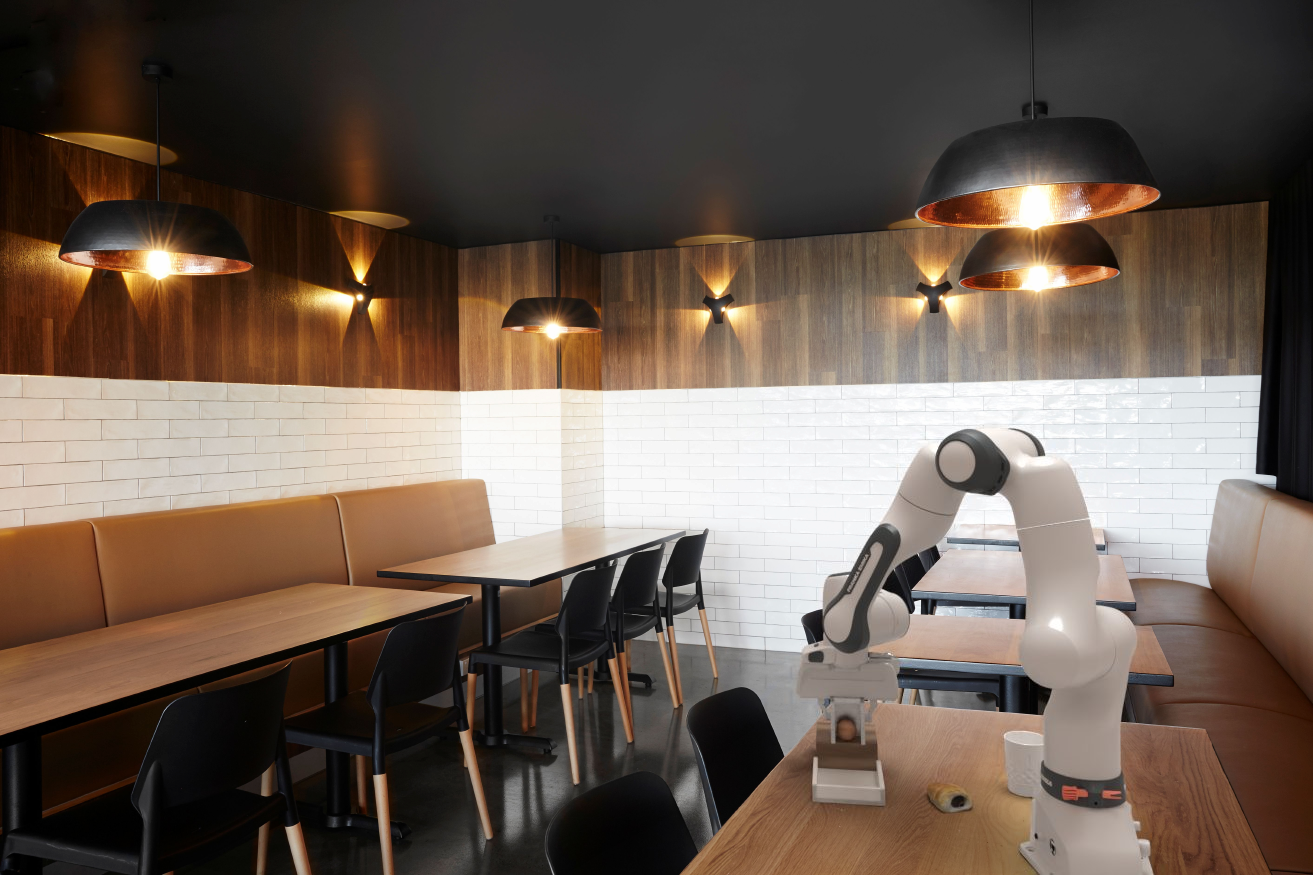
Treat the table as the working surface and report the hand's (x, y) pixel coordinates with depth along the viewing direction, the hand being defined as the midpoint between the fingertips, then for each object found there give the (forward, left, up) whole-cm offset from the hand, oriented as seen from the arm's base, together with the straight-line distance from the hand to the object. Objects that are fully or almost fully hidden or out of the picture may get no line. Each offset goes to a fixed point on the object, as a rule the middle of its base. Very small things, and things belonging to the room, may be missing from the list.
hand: (847, 720), depth 178 cm
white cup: (-5, -33, -10) cm, 35 cm away
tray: (-9, 0, -10) cm, 14 cm away
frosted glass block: (0, 0, -4) cm, 4 cm away
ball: (+1, 0, 0) cm, 1 cm away
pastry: (-13, -17, -11) cm, 24 cm away
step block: (+5, 0, -10) cm, 11 cm away
